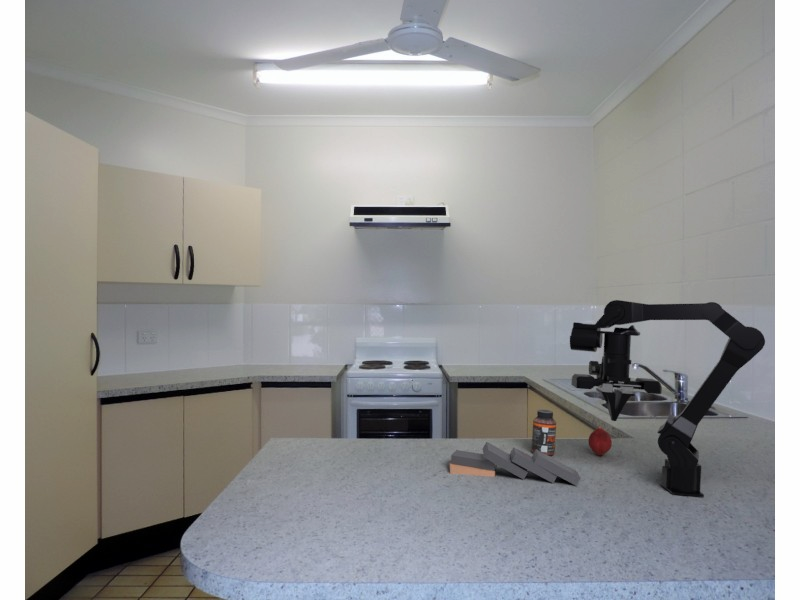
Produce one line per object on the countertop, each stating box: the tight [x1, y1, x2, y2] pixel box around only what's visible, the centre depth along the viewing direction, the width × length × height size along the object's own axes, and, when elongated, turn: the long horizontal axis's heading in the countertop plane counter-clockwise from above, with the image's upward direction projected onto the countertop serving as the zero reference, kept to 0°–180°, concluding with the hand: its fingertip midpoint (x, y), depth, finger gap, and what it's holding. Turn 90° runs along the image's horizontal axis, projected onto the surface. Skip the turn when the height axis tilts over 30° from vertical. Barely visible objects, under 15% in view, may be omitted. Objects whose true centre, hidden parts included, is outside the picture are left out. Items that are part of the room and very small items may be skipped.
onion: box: [587, 425, 613, 456], centre depth 133 cm, size 6×6×8 cm
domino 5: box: [531, 449, 582, 487], centre depth 111 cm, size 2×5×10 cm
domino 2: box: [449, 460, 496, 478], centre depth 114 cm, size 2×5×10 cm
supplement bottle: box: [531, 409, 557, 457], centre depth 132 cm, size 6×6×11 cm
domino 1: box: [450, 449, 498, 471], centre depth 116 cm, size 2×5×10 cm
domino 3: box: [482, 441, 529, 480], centre depth 113 cm, size 2×5×10 cm
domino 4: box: [509, 446, 558, 484], centre depth 112 cm, size 2×5×10 cm
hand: (613, 420), depth 116 cm, fingers closed
